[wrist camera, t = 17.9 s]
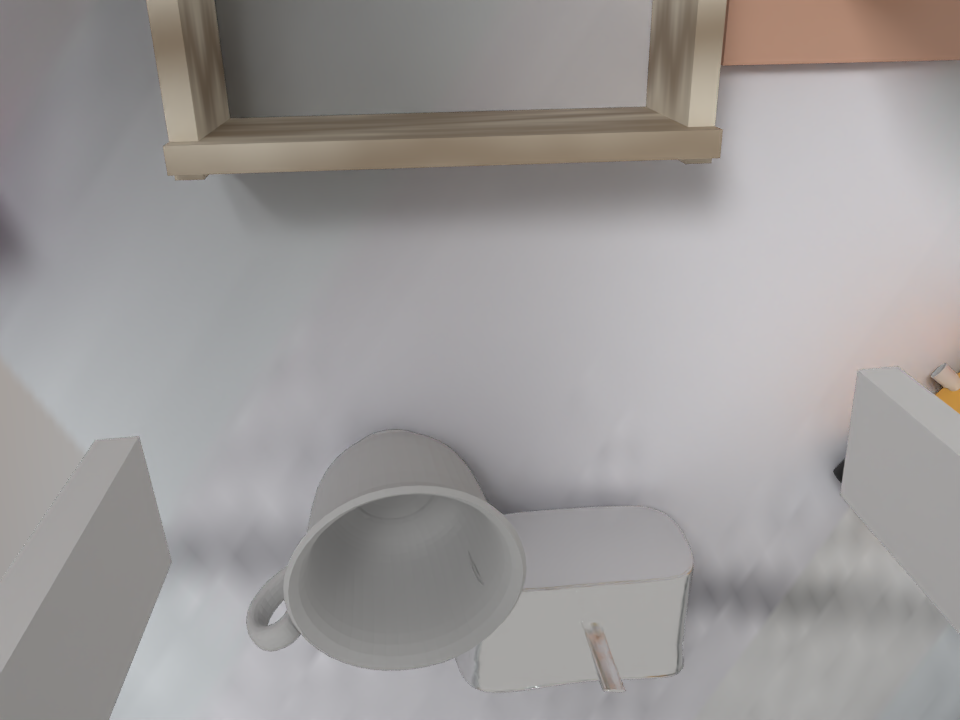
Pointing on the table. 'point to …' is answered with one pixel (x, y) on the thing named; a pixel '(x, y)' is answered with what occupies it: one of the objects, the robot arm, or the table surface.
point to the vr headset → (589, 602)
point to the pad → (840, 31)
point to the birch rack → (442, 135)
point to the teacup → (394, 560)
